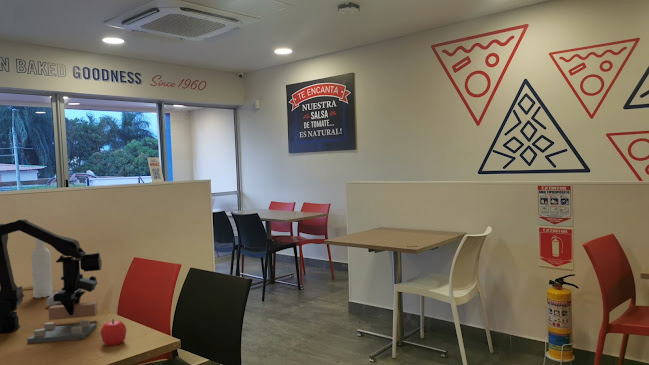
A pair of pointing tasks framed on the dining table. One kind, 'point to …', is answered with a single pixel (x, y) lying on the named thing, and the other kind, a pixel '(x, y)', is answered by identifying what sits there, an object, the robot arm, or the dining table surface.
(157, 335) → the dining table surface
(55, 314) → the clay strip
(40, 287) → the bottle
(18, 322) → the robot arm
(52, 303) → the ice cream cone
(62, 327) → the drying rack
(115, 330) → the apple
